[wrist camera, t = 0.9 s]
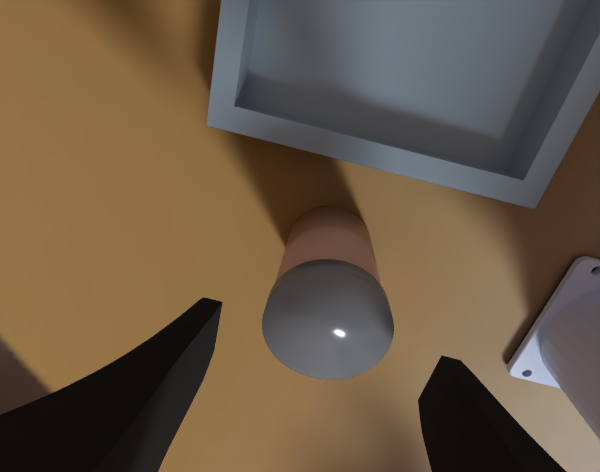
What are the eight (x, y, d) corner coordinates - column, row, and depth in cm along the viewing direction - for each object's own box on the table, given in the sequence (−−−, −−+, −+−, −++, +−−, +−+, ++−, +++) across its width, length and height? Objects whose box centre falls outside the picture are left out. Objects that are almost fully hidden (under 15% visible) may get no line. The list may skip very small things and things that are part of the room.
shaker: (384, 216, 18) (413, 292, 11) (357, 291, 20) (369, 391, 13) (296, 194, 18) (276, 258, 11) (278, 271, 20) (252, 362, 13)
